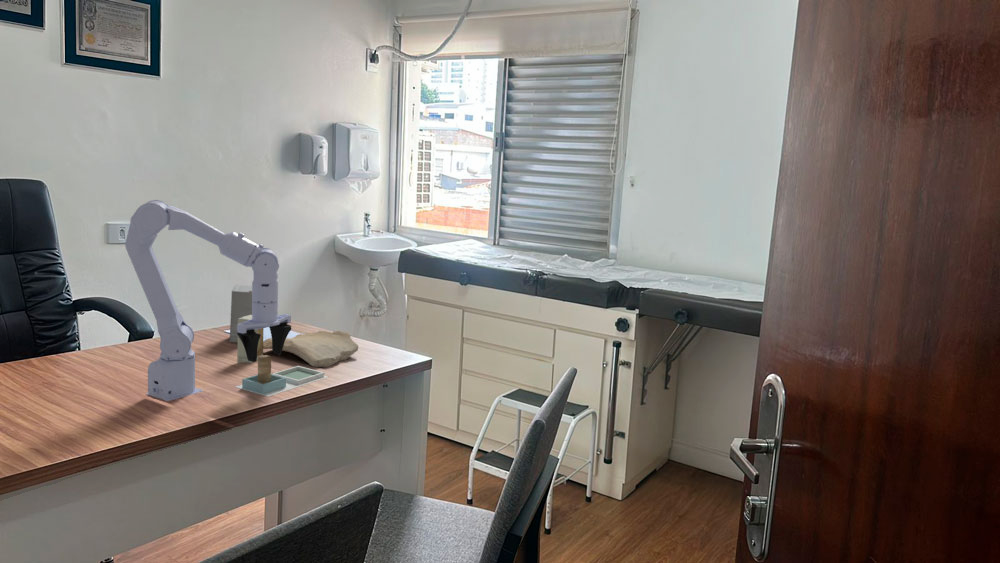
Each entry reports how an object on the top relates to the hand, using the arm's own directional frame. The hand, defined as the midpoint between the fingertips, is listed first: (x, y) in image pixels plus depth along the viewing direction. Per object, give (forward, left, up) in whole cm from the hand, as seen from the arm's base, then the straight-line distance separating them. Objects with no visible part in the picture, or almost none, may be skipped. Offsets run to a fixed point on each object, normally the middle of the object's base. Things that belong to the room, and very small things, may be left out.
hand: (264, 357), depth 168 cm
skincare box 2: (+14, +21, -8) cm, 26 cm away
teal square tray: (0, 0, -8) cm, 8 cm away
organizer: (+6, 0, -8) cm, 10 cm away
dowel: (0, 0, -7) cm, 7 cm away
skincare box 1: (+28, +40, -8) cm, 49 cm away
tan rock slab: (+29, +14, -9) cm, 33 cm away
